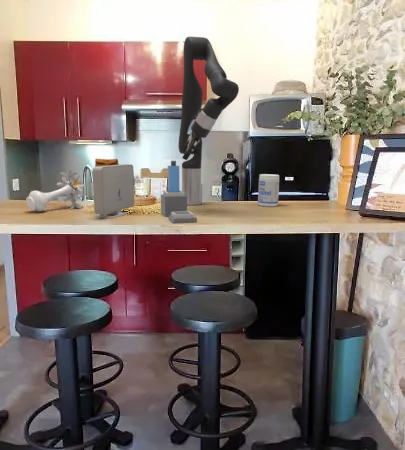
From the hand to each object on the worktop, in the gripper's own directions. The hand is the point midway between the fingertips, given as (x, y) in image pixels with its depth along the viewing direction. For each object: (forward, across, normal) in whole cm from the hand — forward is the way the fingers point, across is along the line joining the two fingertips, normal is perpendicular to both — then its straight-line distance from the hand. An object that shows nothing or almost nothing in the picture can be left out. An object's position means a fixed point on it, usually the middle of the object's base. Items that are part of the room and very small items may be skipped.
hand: (184, 154), depth 184 cm
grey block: (+17, +20, +5) cm, 27 cm away
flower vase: (+48, +9, -37) cm, 61 cm away
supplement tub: (+6, -5, +49) cm, 49 cm away
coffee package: (+42, -2, -17) cm, 46 cm away
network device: (+30, +20, -16) cm, 39 cm away
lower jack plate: (+10, +33, +6) cm, 35 cm away
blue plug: (+11, +17, +2) cm, 20 cm away
